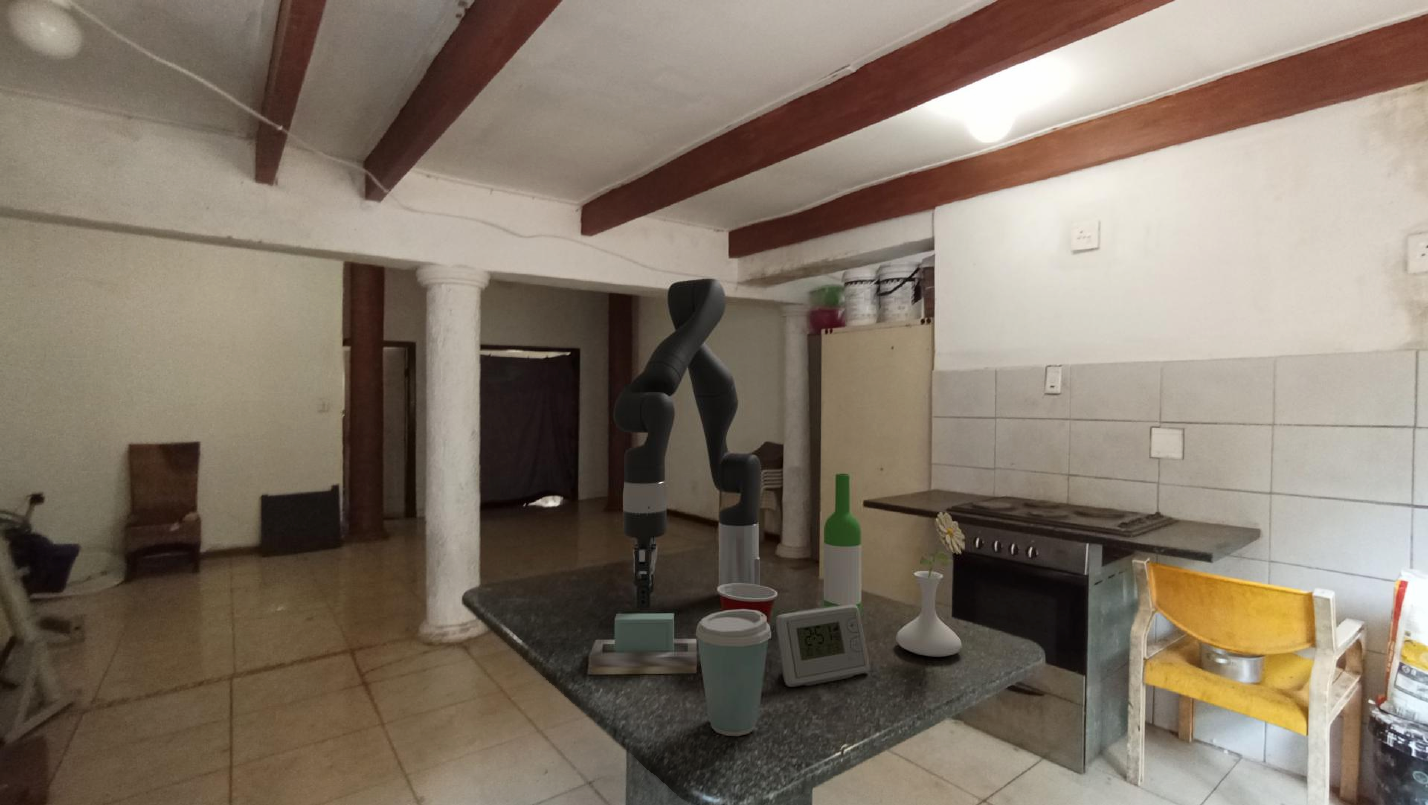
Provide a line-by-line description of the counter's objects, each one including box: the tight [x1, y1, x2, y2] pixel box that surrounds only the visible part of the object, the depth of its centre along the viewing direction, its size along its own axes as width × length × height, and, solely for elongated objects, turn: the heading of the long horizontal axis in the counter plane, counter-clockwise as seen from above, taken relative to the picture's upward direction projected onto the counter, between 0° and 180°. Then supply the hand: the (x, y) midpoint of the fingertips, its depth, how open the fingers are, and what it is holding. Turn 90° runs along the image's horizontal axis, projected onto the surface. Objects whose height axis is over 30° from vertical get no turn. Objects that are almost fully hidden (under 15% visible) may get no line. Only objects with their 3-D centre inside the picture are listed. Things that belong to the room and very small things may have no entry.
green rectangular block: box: [614, 612, 675, 653], centre depth 110 cm, size 10×3×7 cm, turn 91°
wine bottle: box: [823, 473, 862, 615], centre depth 134 cm, size 8×8×30 cm
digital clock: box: [774, 604, 870, 688], centre depth 105 cm, size 16×9×11 cm, turn 101°
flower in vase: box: [895, 511, 966, 658], centre depth 116 cm, size 13×11×25 cm
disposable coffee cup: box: [695, 609, 772, 737], centre depth 88 cm, size 11×11×15 cm
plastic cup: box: [716, 583, 778, 625], centre depth 112 cm, size 11×11×12 cm
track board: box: [587, 638, 698, 675], centre depth 110 cm, size 18×10×2 cm, turn 92°
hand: (645, 600), depth 110 cm, fingers open, 8 cm apart
